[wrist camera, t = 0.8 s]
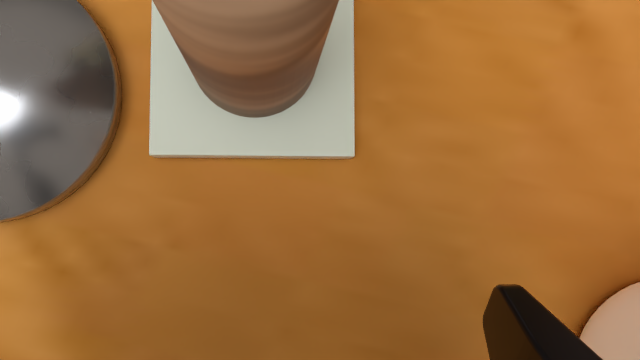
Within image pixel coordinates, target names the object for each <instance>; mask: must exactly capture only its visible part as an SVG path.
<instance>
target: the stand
mask: <svg viewBox="0 0 640 360" xmlns="http://www.w3.org/2000/svg"><path fill="white" fill-rule="evenodd" d="M149 155H151V156H153V157H155V158H291V159H351V158H353V157H354V156H355V135H354V0H339V2H338V5H337V8H336V11H335V14H334V17H333V20H332V23H331V26H330V29H329V32H328V35H327V38H326V41H325V44H324V47H323V50H322V53H321V56H320V59H319V62H318V65H317V68H316V71H315V74H314V77H313V80H312V82H311V84H310V86H309V88H308V89H307V91H306V92H305V94H304V95H303V96H302V97H301V98H300V99H299V100H298V101H297V102H296V103H295V104H294V105H292V106H291V107H289V108H288V109H286V110H284V111H282V112H280V113H277V114H275V115H271V116H267V117H259V118H250V117H243V116H238V115H235V114H232V113H230V112H227V111H225V110H223V109H222V108H220V107H218V106H217V105H216V104H214V103H213V102H212V101H211V100H210V99H209V98H208V97H207V96H206V95H205V94H204V93H203V91H202V90H201V89H200V87H199V85H198V83H197V82H196V80H195V78H194V76H193V74H192V72H191V70H190V69H189V67H188V65H187V63H186V61H185V59H184V58H183V56H182V54H181V52H180V50H179V48H178V47H177V45H176V43H175V41H174V39H173V37H172V35H171V34H170V32H169V30H168V28H167V26H166V24H165V23H164V21H163V19H162V17H161V15H160V13H159V11H158V10H157V8H156V6H155V4H154V2H153V0H152V23H151V80H150V138H149Z"/></svg>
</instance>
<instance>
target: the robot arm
mask: <svg viewBox="0 0 640 360" xmlns="http://www.w3.org/2000/svg"><path fill="white" fill-rule="evenodd" d="M483 329H484V334H485V338H486V343H487V348H488V352H489V357H490V360H603V359H602V358H601V357H599V356H598V355H597V354H596V353H595V352H594V351H593V350H592V349H591V348H590V347H588V346H587V345H586V344H585V343H584V342H583V341H582V340H581V339H580V338H578V337H577V336H576V335H575V334H574V333H573V332H572V331H571V330H570V329H569V328H567V327H566V326H565V325H564V324H563V323H562V322H561V321H560V320H559V319H557V318H556V317H555V316H554V315H553V314H552V313H551V312H550V311H549V310H547V309H546V308H545V307H544V306H543V305H542V304H541V303H540V302H539V301H538V300H536V299H535V298H534V297H533V296H532V295H531V294H530V293H529V292H528V291H526V290H525V289H524V288H523V287H521V286H520V285H515V284H510V285H497V286H496V287H494V289H493V291H492V294H491V296H490V299H489V301H488V304H487V307H486V309H485V312H484V315H483Z"/></svg>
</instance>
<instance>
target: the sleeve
mask: <svg viewBox="0 0 640 360" xmlns="http://www.w3.org/2000/svg"><path fill="white" fill-rule="evenodd" d="M153 2H154V4H155V6H156V8H157V10H158V11H159V13H160V15H161V17H162V19H163V21H164V23H165V24H166V26H167V28H168V30H169V32H170V34H171V35H172V37H173V39H174V41H175V43H176V45H177V47H178V48H179V50H180V52H181V54H182V56H183V58H184V59H185V61H186V63H187V65H188V67H189V69H190V70H191V72H192V74H193V76H194V78H195V80H196V82H197V83H198V85H199V87H200V89H201V90H202V91H203V93H204V94H205V95H206V96H207V97H208V98H209V99H210V100H211V101H212V102H213V103H214V104H216V105H217V106H218V107H220V108H222V109H223V110H225V111H227V112H230V113H232V114H235V115H238V116H243V117H250V118H259V117H267V116H271V115H275V114H277V113H280V112H282V111H284V110H286V109H288V108H289V107H291V106H292V105H294V104H295V103H296V102H297V101H298V100H299V99H300V98H301V97H302V96H303V95H304V94H305V92H306V91H307V89H308V88H309V86H310V84H311V82H312V80H313V77H314V74H315V71H316V68H317V65H318V62H319V59H320V56H321V53H322V50H323V47H324V44H325V41H326V38H327V35H328V32H329V29H330V26H331V23H332V20H333V17H334V14H335V11H336V8H337V5H338V2H339V0H153Z"/></svg>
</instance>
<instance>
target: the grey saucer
mask: <svg viewBox="0 0 640 360" xmlns="http://www.w3.org/2000/svg"><path fill="white" fill-rule="evenodd" d="M121 105H122V87H121V78H120V72H119V68H118V64H117V60H116V58H115V55H114V53H113V50H112V48H111V45H110V43H109V42H108V40H107V38H106V36H105V34H104V33H103V31H102V30H101V28H100V27H99V26H98V24H97V23H96V22H95V20H94V19H93V18H92V17H91V16H90V14H89V13H88V12H87V11H86V10H85V9H84V8H83V7H82V6H81V5H80V4H79V3H78V1H77V0H0V222H4V221H12V220H16V219H20V218H24V217H28V216H31V215H34V214H36V213H39V212H42V211H44V210H46V209H48V208H50V207H52V206H54V205H56V204H58V203H60V202H61V201H63V200H64V199H66V198H67V197H68V196H70V195H71V194H73V193H74V192H75V191H76V190H77V189H79V188H80V187H81V186H82V185H83V184H84V183H85V182H86V181H87V180H88V179H89V178H90V177H91V175H92V174H93V173H94V172H95V171H96V170H97V168H98V167H99V165H100V164H101V162H102V161H103V159H104V158H105V156H106V154H107V153H108V150H109V148H110V146H111V144H112V142H113V140H114V137H115V134H116V131H117V127H118V124H119V119H120V113H121Z"/></svg>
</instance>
